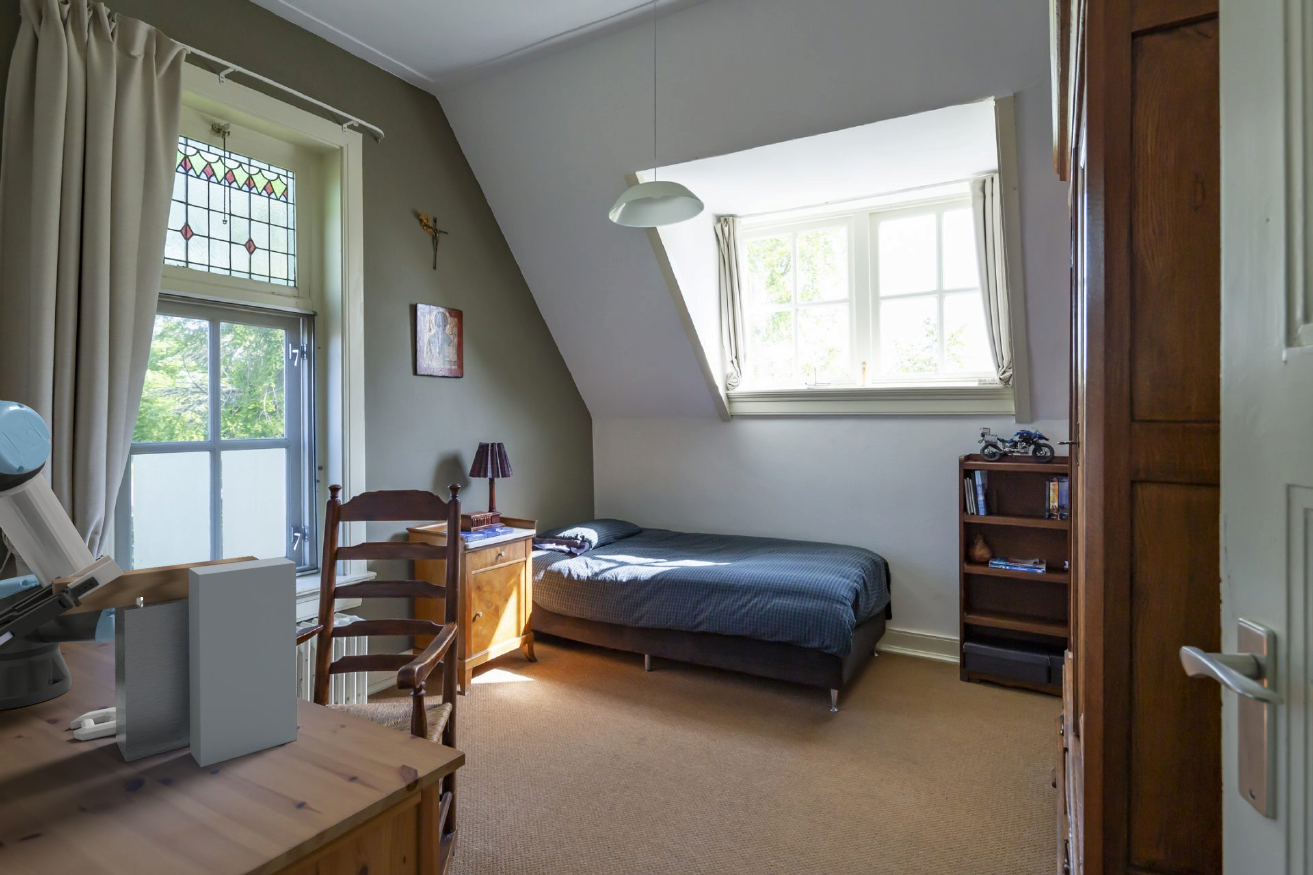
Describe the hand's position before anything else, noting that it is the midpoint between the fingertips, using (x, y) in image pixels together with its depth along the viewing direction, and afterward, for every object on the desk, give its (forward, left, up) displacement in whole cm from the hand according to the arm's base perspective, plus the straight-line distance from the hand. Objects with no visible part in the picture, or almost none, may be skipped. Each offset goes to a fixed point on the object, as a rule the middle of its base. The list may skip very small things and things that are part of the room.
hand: (115, 563), depth 115 cm
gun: (-12, +4, -31) cm, 34 cm away
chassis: (0, +8, -31) cm, 32 cm away
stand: (+11, +15, -31) cm, 36 cm away
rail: (0, +6, -7) cm, 9 cm away
